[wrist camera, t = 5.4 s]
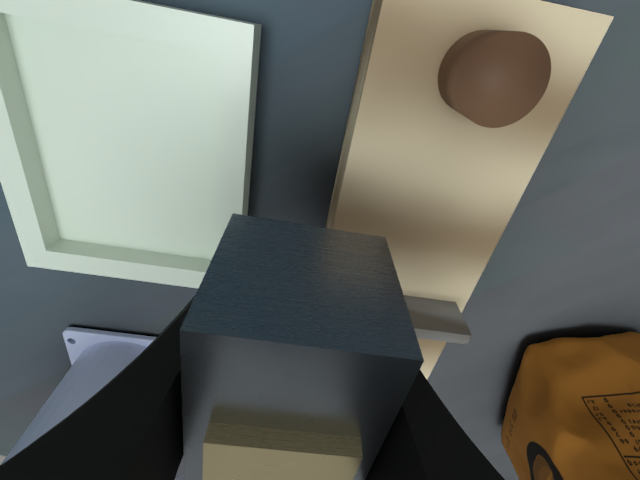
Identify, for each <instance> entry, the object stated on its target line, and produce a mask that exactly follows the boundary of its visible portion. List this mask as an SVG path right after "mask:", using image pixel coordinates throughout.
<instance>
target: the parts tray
mask: <svg viewBox="0 0 640 480" xmlns="http://www.w3.org/2000/svg"><path fill="white" fill-rule="evenodd" d="M261 28H262V24H257V23H252V22H247V21H242V20H237V19H232V18H227V17H222V16H217V15H212V14H207V13H201V12H196V11H191V10H186V9H181V8H176V7H171V6H166V5H161V4H156V3H151V2H146V1H141V0H0V182H1V185H2V188H3V191H4V194H5V197H6V200H7V203H8V207H9V210H10V213H11V216H12V219H13V222H14V225H15V228H16V232H17V235H18V238H19V241H20V244H21V247H22V250H23V253H24V257H25V260H26V263H27V266H31V267H39V268H46V269H54V270H62V271H69V272H77V273H85V274H92V275H100V276H107V277H115V278H123V279H130V280H138V281H145V282H153V283H161V284H168V285H176V286H184V287H191V288H199V286H200V284H201V282H202V280H203V278H204V275H205V273H206V271H207V269H208V267H209V264H210V262H211V260H212V258H213V256H214V253H215V251H216V249H217V247H218V245H219V242H220V240H221V238H222V236H223V233H224V231H225V229H226V227H227V225H228V222H229V220H230V218H231V216H232V214H233V213H235V214H241V215H247V216H248V203H249V190H250V176H251V163H252V149H253V136H254V122H255V109H256V95H257V82H258V68H259V55H260V41H261Z"/></svg>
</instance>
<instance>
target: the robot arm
mask: <svg viewBox="0 0 640 480" xmlns="http://www.w3.org/2000/svg"><path fill="white" fill-rule="evenodd" d="M194 297H195V296H194ZM194 297H193V298H192V300H191V301H190V302H189V303H188V304H187V305H186V307H185V308H184V309H183V310H182V311H181V312H180V313H179V315H178V316H177V317H176V318H175V319H174V320H173V321H172V322H171V323H170V324H169V325H168V326H167V327H166V329H165V330H164V331H163V332H162V333H161V334H160V335H159V336H158V337H153V336H144V335H136V334H128V333H119V332H111V331H102V330H94V329H85V328H77V327H68V328H66V329H65V330H64V332H63V337H64V341H65V344H66V348H67V351H68V355H69V358H70V361H71V365H72V366H71V368H70V369H69V371H68V372H67V373H66V375H65V376H64V378H63V379H62V380H61V382H60V383H59V384H58V386H57V387H56V389H55V390H54V391H53V393H52V394H51V396H50V397H49V398H48V400H47V401H46V403H45V404H44V405H43V407H42V408H41V409H40V411H39V412H38V414H37V415H36V416H35V418H34V419H33V421H32V422H31V423H30V425H29V426H28V428H27V429H26V430H25V432H24V433H23V434H22V436H21V437H20V439H19V440H18V441H17V443H16V444H15V446H14V447H13V448H12V450H11V451H10V452H9V454H8V455H7V457H6V458H5V459H4V461H3V462H2V464H1V465H0V480H174V479H175V476H176V473H177V470H178V467H179V465H180V462H181V459H182V457H183V454H184V450H183V419H182V388H181V357H180V328H181V326H182V324H183V322H184V319H185V317H186V315H187V313H188V311H189V308H190V306H191V304H192V302H193V300H194ZM365 480H505V479H504V478H503V477H502V476H501V475H500V474H499V473H498V472H497V470H496V469H495V468H494V467H493V466H492V465H491V464H490V462H489V461H488V460H487V459H486V458H485V456H484V455H483V454H482V453H481V452H480V450H479V449H478V448H477V447H476V446H475V444H474V443H473V442H472V441H471V440H470V438H469V437H468V436H467V435H466V433H465V432H464V431H463V429H462V428H461V427H460V426H459V424H458V423H457V422H456V420H455V419H454V418H453V416H452V415H451V414H450V412H449V411H448V409H447V408H446V407H445V405H444V404H443V403H442V401H441V400H440V398H439V397H438V395H437V394H436V393H435V391H434V390H433V388H432V387H431V385H430V384H429V382H428V381H427V379H426V378H425V376H424V375H423V373H422V372H421V370H419V372H418V374H417V376H416V378H415V380H414V382H413V384H412V386H411V388H410V390H409V392H408V394H407V396H406V398H405V400H404V402H403V404H402V406H401V408H400V410H399V412H398V414H397V416H396V418H395V420H394V422H393V424H392V426H391V428H390V430H389V432H388V434H387V436H386V438H385V440H384V442H383V444H382V446H381V448H380V450H379V452H378V454H377V456H376V458H375V460H374V462H373V464H372V466H371V468H370V470H369V473H368V475H367V477H366V479H365Z"/></svg>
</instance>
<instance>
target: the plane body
mask: <svg viewBox="0 0 640 480" xmlns="http://www.w3.org/2000/svg"><path fill="white" fill-rule="evenodd" d="M613 18H614V17H613V16H609V15H604V14H600V13H595V12H590V11H586V10H581V9H577V8H572V7H568V6H563V5H559V4H554V3H550V2H545V1H541V0H373V1H372V6H371V11H370V16H369V20H368V25H367V30H366V35H365V40H364V44H363V49H362V54H361V59H360V64H359V68H358V73H357V78H356V83H355V88H354V92H353V97H352V102H351V107H350V112H349V116H348V121H347V126H346V131H345V136H344V140H343V145H342V150H341V155H340V160H339V165H338V169H337V174H336V179H335V184H334V189H333V193H332V198H331V203H330V208H329V213H328V217H327V222H326V227H325V228H329V229H336V230H342V231H348V232H355V233H361V234H367V235H373V236H380V237H386V240H387V243H388V246H389V250H390V253H391V256H392V259H393V263H394V266H395V269H396V272H397V275H398V279H399V282H400V285H401V288H402V292H403V295H404V298H405V301H406V304H407V308H408V311H409V314H410V317H411V321H412V324H413V327H414V330H415V333H416V337H417V340H418V343H419V346H420V349H421V353H422V356H423V359H424V362H423V364H422V366H421V368H420V370H421V372H422V373H423V375H424V376H425V378H426V379H428V377H429V375H430V373H431V371H432V369H433V367H434V365H435V364H436V362H437V360H438V358H439V356H440V354H441V352H442V350H443V348H444V346H445V344H446V342H453V343H461V344H468V342H469V340H470V338H471V337H472V335H471V333H470V331H469V328H468V326H467V324H466V322H465V320H464V318H463V316H462V314H461V313H462V311H463V309H464V307H465V305H466V303H467V301H468V299H469V298H470V296H471V294H472V292H473V290H474V288H475V286H476V284H477V282H478V280H479V278H480V276H481V274H482V272H483V270H484V268H485V266H486V264H487V263H488V261H489V259H490V257H491V255H492V253H493V251H494V249H495V247H496V245H497V243H498V241H499V239H500V237H501V235H502V233H503V231H504V230H505V228H506V226H507V224H508V222H509V220H510V218H511V216H512V214H513V212H514V210H515V208H516V206H517V204H518V202H519V200H520V198H521V197H522V195H523V193H524V191H525V189H526V187H527V185H528V183H529V181H530V179H531V177H532V175H533V173H534V171H535V169H536V167H537V165H538V163H539V162H540V160H541V158H542V156H543V154H544V152H545V150H546V148H547V146H548V144H549V142H550V140H551V138H552V136H553V134H554V132H555V130H556V129H557V127H558V125H559V123H560V121H561V119H562V117H563V115H564V113H565V111H566V109H567V107H568V105H569V103H570V101H571V99H572V97H573V96H574V94H575V92H576V90H577V88H578V86H579V84H580V82H581V80H582V78H583V76H584V74H585V72H586V70H587V68H588V66H589V64H590V62H591V61H592V59H593V57H594V55H595V53H596V51H597V49H598V47H599V45H600V43H601V41H602V39H603V37H604V35H605V33H606V31H607V29H608V28H609V26H610V24H611V22H612V20H613Z"/></svg>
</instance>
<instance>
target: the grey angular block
mask: <svg viewBox="0 0 640 480" xmlns="http://www.w3.org/2000/svg"><path fill="white" fill-rule="evenodd" d="M180 357H181V388H182V419H183V450H184V480H365V479H366V477H367V475H368V473H369V470H370V468H371V466H372V464H373V462H374V460H375V458H376V456H377V454H378V452H379V450H380V448H381V446H382V444H383V442H384V440H385V438H386V436H387V434H388V432H389V430H390V428H391V426H392V424H393V422H394V420H395V418H396V416H397V414H398V412H399V410H400V408H401V406H402V404H403V402H404V400H405V398H406V396H407V394H408V392H409V390H410V388H411V386H412V384H413V382H414V380H415V378H416V376H417V374H418V372H419V370H420V368H421V366H422V364H423V362H424V359H423V356H422V353H421V349H420V346H419V343H418V340H417V337H416V333H415V330H414V327H413V324H412V321H411V317H410V314H409V311H408V308H407V304H406V301H405V298H404V295H403V292H402V288H401V285H400V282H399V279H398V275H397V272H396V269H395V266H394V263H393V259H392V256H391V253H390V250H389V246H388V243H387V240H386V237H380V236H373V235H367V234H361V233H355V232H348V231H342V230H336V229H329V228H323V227H317V226H310V225H304V224H298V223H291V222H285V221H279V220H273V219H266V218H260V217H254V216H247V215H241V214H235V213H233V214H232V216H231V218H230V220H229V222H228V225H227V227H226V229H225V231H224V233H223V236H222V238H221V240H220V242H219V245H218V247H217V249H216V251H215V253H214V256H213V258H212V260H211V262H210V264H209V267H208V269H207V271H206V273H205V275H204V278H203V280H202V282H201V284H200V286H199V289H198V291H197V293H196V295H195V297H194V300H193V302H192V304H191V306H190V308H189V311H188V313H187V315H186V317H185V319H184V322H183V324H182V326H181V328H180Z"/></svg>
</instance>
